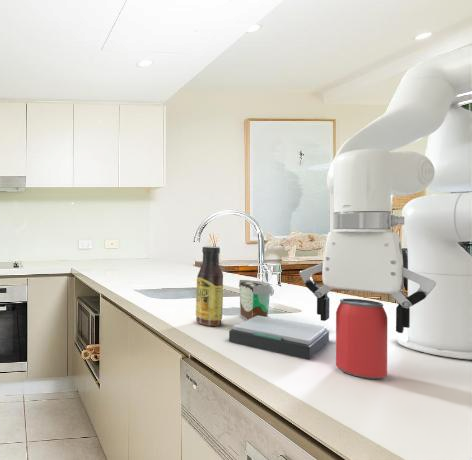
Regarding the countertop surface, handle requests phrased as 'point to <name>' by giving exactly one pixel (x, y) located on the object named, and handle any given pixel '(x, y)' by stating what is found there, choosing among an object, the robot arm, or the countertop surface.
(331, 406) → the countertop surface
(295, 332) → the scale
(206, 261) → the sauce bottle
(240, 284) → the food container
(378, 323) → the beer can
